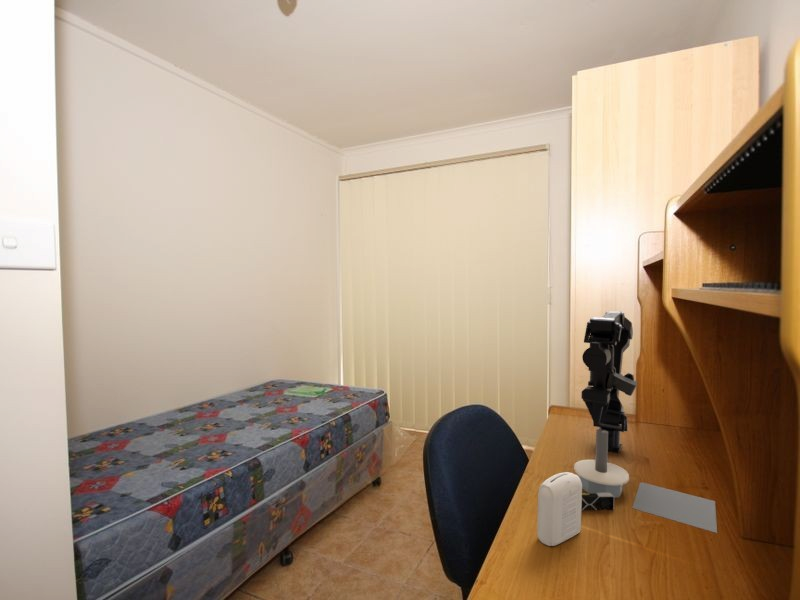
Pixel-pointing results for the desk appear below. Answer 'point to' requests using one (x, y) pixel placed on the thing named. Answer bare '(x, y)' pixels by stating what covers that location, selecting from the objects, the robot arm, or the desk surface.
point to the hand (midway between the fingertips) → (600, 419)
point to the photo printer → (559, 508)
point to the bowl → (600, 488)
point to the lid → (601, 465)
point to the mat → (676, 506)
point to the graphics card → (597, 501)
